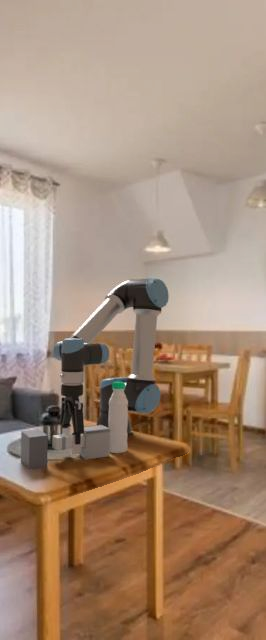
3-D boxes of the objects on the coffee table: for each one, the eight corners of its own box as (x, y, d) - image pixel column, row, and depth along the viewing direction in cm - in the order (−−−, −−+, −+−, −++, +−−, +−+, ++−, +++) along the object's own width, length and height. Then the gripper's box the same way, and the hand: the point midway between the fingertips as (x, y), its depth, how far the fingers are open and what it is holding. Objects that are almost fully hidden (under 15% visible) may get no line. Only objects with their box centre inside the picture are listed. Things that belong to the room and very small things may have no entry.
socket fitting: (38, 458, 157) (38, 429, 157) (47, 466, 149) (47, 435, 149) (20, 461, 154) (21, 431, 154) (28, 469, 146) (29, 437, 146)
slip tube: (102, 441, 166) (103, 429, 166) (108, 443, 163) (108, 432, 163) (52, 447, 157) (52, 435, 157) (56, 450, 153) (56, 438, 153)
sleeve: (101, 450, 168) (101, 424, 168) (109, 456, 162) (110, 428, 162) (77, 454, 163) (78, 427, 163) (85, 459, 157) (86, 431, 157)
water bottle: (124, 454, 164) (126, 383, 164) (105, 453, 165) (106, 382, 165) (129, 449, 171) (130, 381, 171) (110, 447, 172) (111, 380, 172)
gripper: (51, 380, 166) (50, 443, 166) (73, 388, 147) (72, 460, 147) (70, 379, 169) (69, 441, 169) (95, 387, 151) (94, 456, 151)
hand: (71, 449), depth 158 cm, fingers open, 9 cm apart
